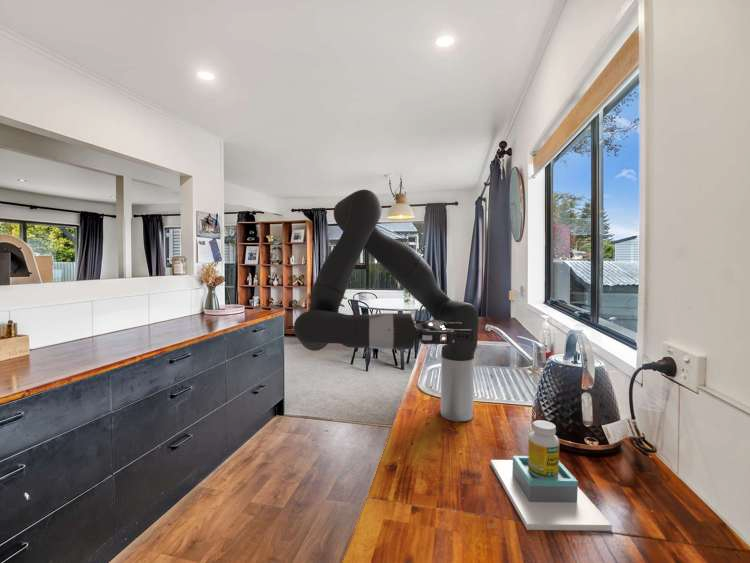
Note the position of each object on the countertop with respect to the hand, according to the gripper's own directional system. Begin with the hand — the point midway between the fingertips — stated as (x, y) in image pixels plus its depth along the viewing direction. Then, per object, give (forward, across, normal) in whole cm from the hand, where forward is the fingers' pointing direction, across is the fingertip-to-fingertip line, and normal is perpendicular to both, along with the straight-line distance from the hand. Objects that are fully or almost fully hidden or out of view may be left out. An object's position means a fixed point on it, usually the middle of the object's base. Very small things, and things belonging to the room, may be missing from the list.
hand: (467, 331), depth 78 cm
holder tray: (+13, -8, +30) cm, 34 cm away
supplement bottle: (+13, -8, +26) cm, 30 cm away
